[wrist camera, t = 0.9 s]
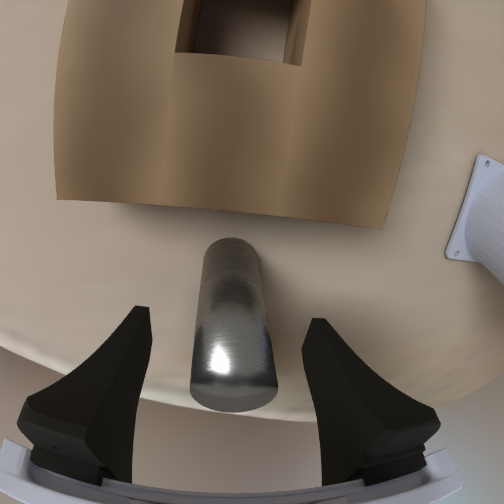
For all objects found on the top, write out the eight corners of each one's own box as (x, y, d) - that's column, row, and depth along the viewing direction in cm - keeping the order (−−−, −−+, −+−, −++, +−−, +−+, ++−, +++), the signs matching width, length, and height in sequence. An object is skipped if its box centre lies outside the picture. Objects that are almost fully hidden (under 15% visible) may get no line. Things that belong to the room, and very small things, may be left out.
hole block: (384, -49, 8) (424, -74, 4) (347, 195, 16) (381, 229, 12) (137, -80, 7) (114, -116, 3) (97, 170, 14) (57, 199, 10)
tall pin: (261, 240, 17) (286, 366, 9) (253, 285, 19) (269, 412, 11) (205, 235, 17) (188, 362, 9) (202, 281, 18) (190, 410, 11)
